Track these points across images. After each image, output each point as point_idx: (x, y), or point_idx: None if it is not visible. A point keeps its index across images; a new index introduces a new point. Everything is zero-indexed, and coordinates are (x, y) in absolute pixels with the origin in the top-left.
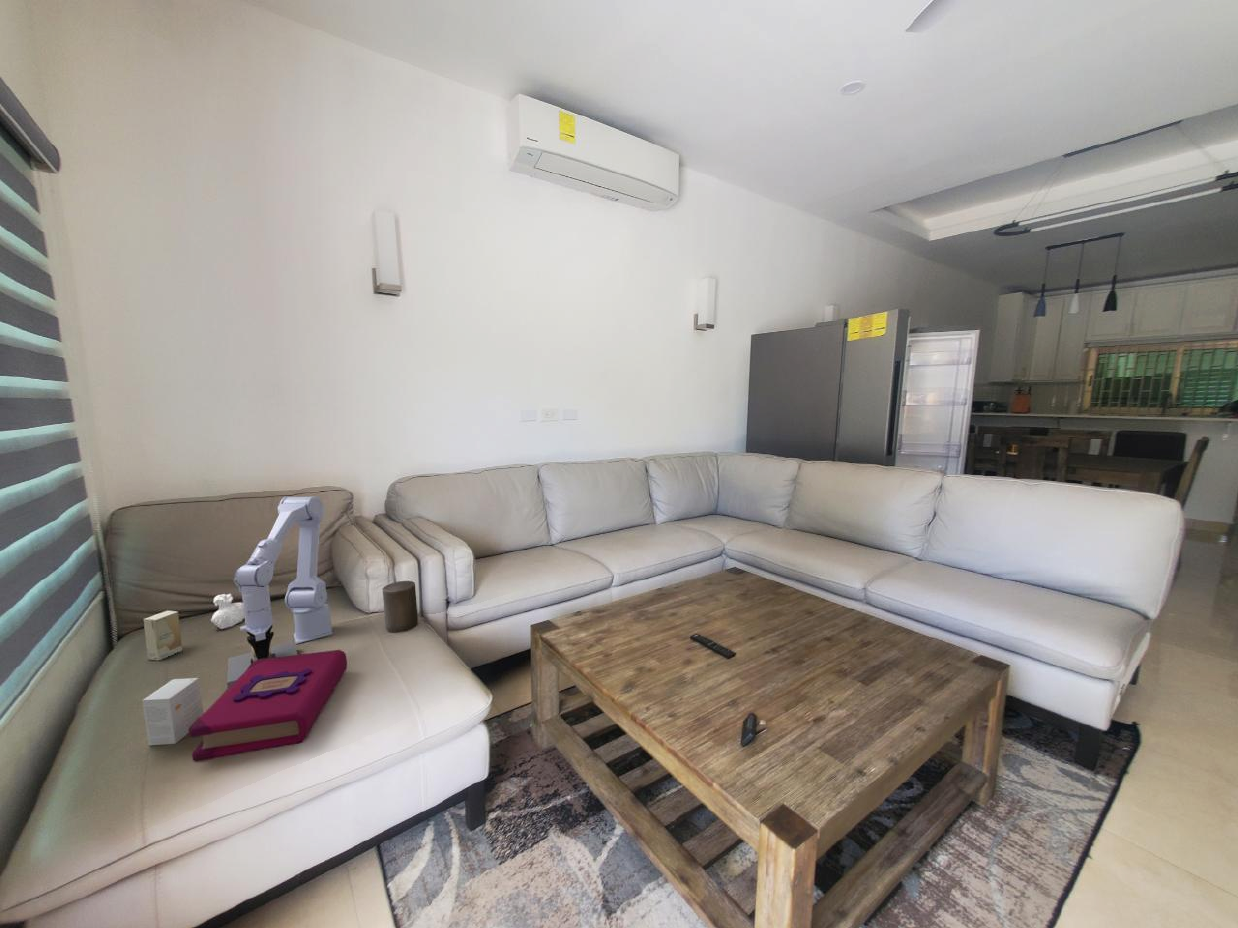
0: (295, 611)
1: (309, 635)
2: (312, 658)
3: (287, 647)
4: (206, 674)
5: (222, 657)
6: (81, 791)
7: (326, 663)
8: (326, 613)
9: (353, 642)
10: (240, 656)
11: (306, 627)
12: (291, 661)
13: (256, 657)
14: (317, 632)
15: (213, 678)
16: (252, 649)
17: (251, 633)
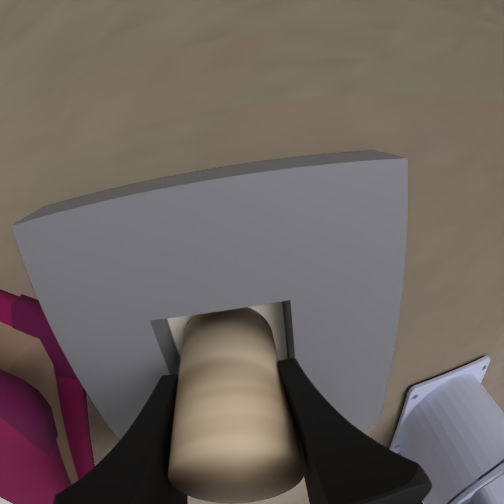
0: (492, 477)
1: (412, 427)
2: (37, 501)
3: None
4: (360, 46)
5: (498, 120)
6: None
7: (11, 500)
8: (427, 501)
9: (281, 494)
10: (385, 230)
11: (429, 449)
12: (18, 476)
13: (180, 378)
14: (409, 441)
15: (279, 81)
16: (192, 411)
17: (323, 499)
